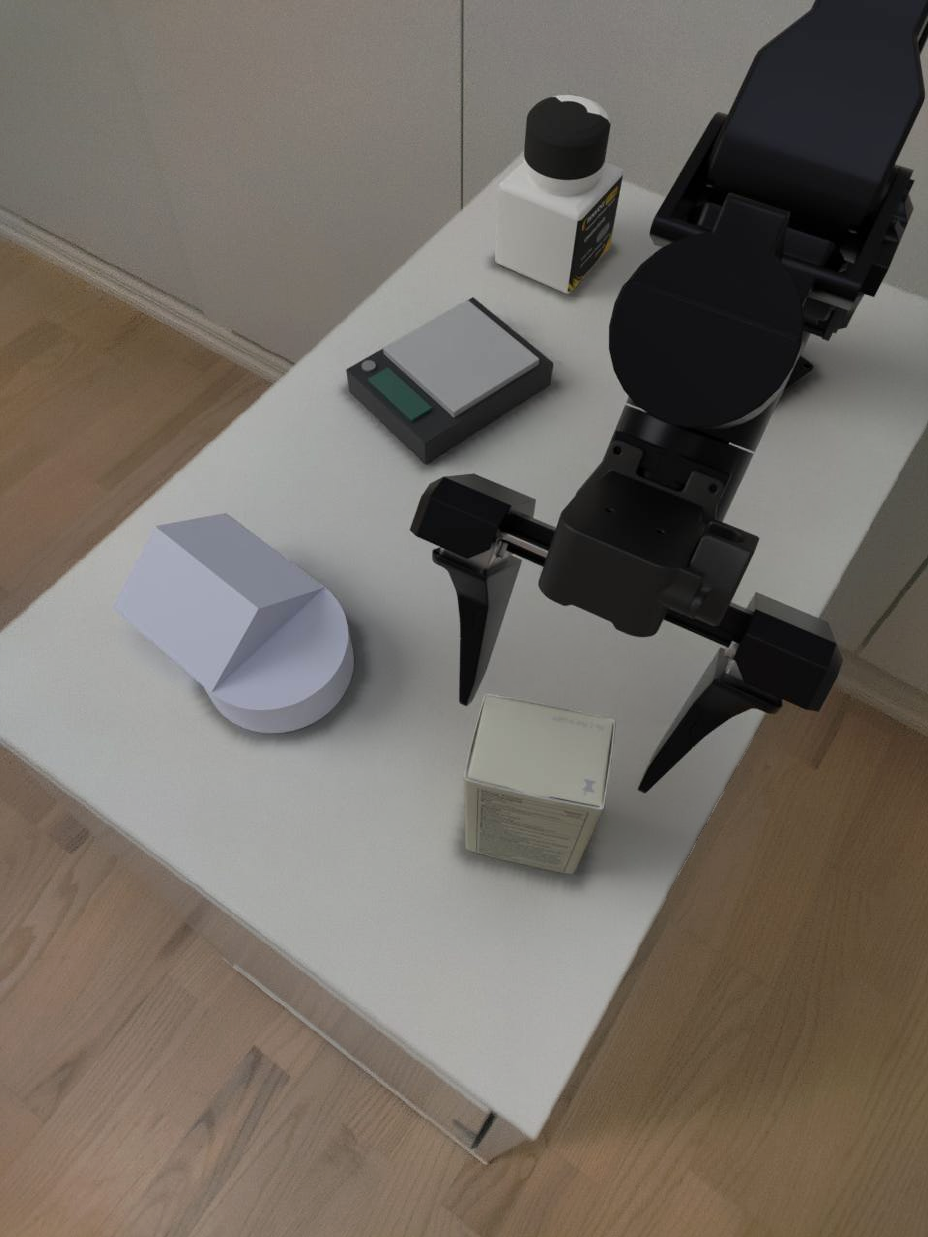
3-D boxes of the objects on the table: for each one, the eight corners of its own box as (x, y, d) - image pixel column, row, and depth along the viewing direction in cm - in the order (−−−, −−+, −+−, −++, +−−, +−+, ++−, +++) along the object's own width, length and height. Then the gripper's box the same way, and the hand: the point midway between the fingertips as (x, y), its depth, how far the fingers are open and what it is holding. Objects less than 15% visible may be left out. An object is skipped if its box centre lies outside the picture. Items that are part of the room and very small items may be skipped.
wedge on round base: (130, 635, 54) (278, 763, 50) (91, 577, 48) (255, 716, 44) (237, 543, 57) (384, 656, 53) (213, 478, 52) (376, 599, 48)
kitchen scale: (472, 319, 68) (473, 289, 66) (550, 384, 65) (554, 356, 62) (348, 391, 64) (344, 362, 62) (425, 464, 61) (424, 437, 58)
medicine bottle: (568, 297, 70) (589, 153, 59) (493, 263, 71) (500, 118, 61) (610, 248, 73) (637, 103, 62) (537, 217, 74) (551, 71, 64)
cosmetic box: (586, 802, 49) (623, 716, 38) (573, 880, 47) (609, 812, 36) (477, 777, 50) (484, 686, 39) (459, 853, 47) (462, 779, 37)
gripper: (425, 330, 31) (301, 707, 36) (952, 533, 27) (735, 930, 32) (509, 359, 41) (404, 648, 46) (899, 508, 37) (741, 810, 42)
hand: (551, 745), depth 41 cm, fingers open, 9 cm apart
